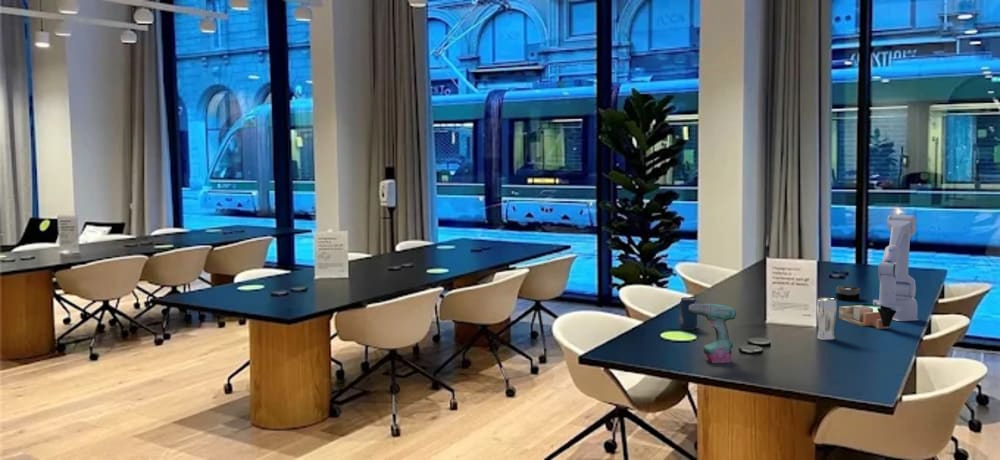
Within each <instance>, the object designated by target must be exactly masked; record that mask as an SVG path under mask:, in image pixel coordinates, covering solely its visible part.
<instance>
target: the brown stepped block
mask: <svg viewBox="0 0 1000 460" xmlns="http://www.w3.org/2000/svg"><path fill="white" fill-rule="evenodd" d="M863 323H864V324H865V326H864V327H866V326H872V327H875V328H876V329H877V330H883V329H890V328H891V325H890V326H888V327H885V326H883V323H882V319H881V316H880V314H879V312H878V311H873V312H870V313H863Z"/></svg>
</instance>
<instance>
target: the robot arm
mask: <svg viewBox="0 0 1000 460" xmlns="http://www.w3.org/2000/svg"><path fill="white" fill-rule="evenodd" d="M886 227H887V229H888V232H890V235H889V236H890V237H889V244H888V245H887V246H885V248H884V252H883V255H882V261H881V262H879V263H878V266H877V267H878V268H877V270H878V271H877V274H878V281H879V293H878V294H879V297H878V298H879V299H872V305H873V306H877V307H878V308H877V312H879V314H880V316H881V319H882V323H883V326H885V327H888V326H890V327H891V323H892V321H897V322H911V321H919V318H918V307H919V306H918V301H917V300H916V298H915V296H916V294H917V292H916V291H917V286H916V280H915V278H913V276H911V275H909V269H910V268H909V264H910V263H909V261H910V245H911V243H910V241H911V236H913V235H916V233H917V232H916V231H917V217H916V216H915V215H914V214H912V215H907V214H906V215H905V214H889V215H888V216H887V222H886Z"/></svg>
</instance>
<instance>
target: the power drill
mask: <svg viewBox="0 0 1000 460" xmlns="http://www.w3.org/2000/svg"><path fill="white" fill-rule="evenodd" d="M689 311H690V312H692V313H694V314H697V316H698V315H699V316H703V317H705V318H706V320H707V321H709V322H710V327H711V328H714V330H715V331H714V332H715V338H716V339H715V341H713V342H711V343H709V344H708V343H707V344H706V345H704V346H703V353H704V354H705V356H706V357H707V359H708V361H709V362H711V363H713V364H714V363H715V364H721V363H722V364H725V363H731V362H732V353H733V351H732V348H733V346H734V344H733V341H730V335H729V330H728V327H727V324H726V322H727V321H731V320H736V319H735V318H736V316H737V311H736V308H734V307H732V306H728V305H724V304H717V303H704V304H702V303H697V304H691V305H689Z"/></svg>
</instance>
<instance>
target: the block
mask: <svg viewBox="0 0 1000 460" xmlns="http://www.w3.org/2000/svg"><path fill="white" fill-rule="evenodd" d="M870 312H874V308H872V307H869V306H865V307H854V315H853V319H852V320H855V321H858V322H861V323H863V313H870Z"/></svg>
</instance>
